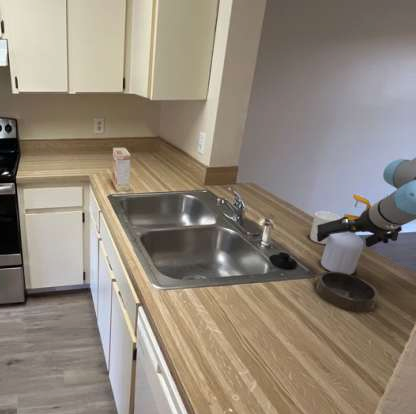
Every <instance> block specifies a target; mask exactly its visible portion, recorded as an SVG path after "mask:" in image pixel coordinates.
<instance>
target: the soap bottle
mask: <svg viewBox="0 0 416 414" xmlns="http://www.w3.org/2000/svg"><path fill="white" fill-rule="evenodd" d="M352 198H353V199H354V200H356V201H357V202H360V203H362V204H364V205H366V207H365V210H366V209H368V208H369V207H371V206H372V205H371V202H370V201H369V200H368V199H367V198H365V197H362V196H360V195H358V194H355V193H353V197H352ZM343 217H348V220H354V219H357V218H359V217H360V215H353V214H348V213H346V214H345V213H344V214H343ZM353 229H355V227H354V226H353ZM364 245H365V244H364V240H363V239H362V238H361V237H360V236H359V235H357V232H355V233H351V232H343V233H336V234H330V236H329V237H328V240H327V244H325V246H324V247H325V248H324V250H323V253H322V257H321V260H320V265H321V266H322V267H323V268H324V269H326V270H328V272H341V273H346V274H350V275H352V274H354V273H355V271H356V268H357V265H358V262H359V260H360V257H361V254H362V251H363V249H364V247H365V246H364Z"/></svg>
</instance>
